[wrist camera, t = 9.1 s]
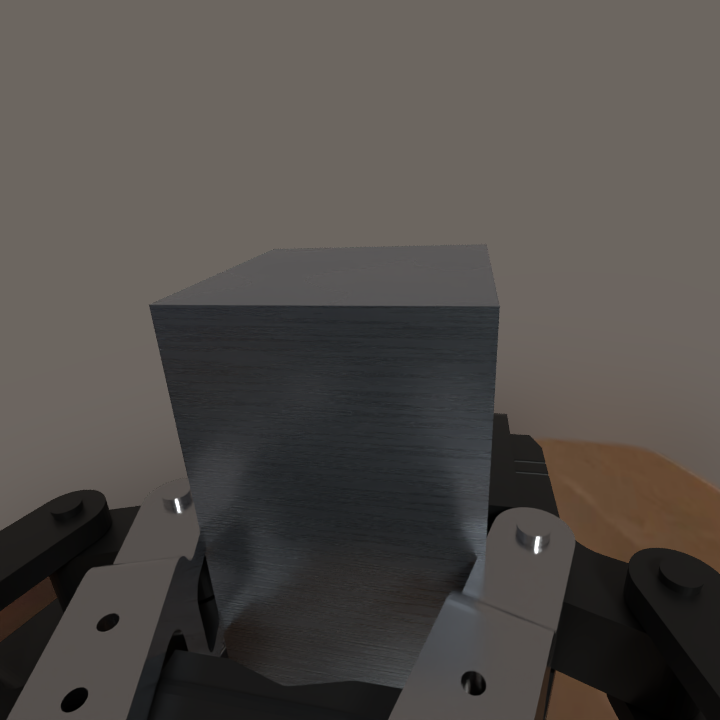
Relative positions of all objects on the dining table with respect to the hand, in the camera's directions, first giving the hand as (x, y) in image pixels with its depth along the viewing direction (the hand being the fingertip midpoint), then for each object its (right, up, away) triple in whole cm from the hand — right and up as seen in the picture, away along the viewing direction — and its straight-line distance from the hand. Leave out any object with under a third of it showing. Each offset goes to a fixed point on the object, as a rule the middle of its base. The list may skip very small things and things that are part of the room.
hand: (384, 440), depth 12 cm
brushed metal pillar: (0, -8, +1) cm, 8 cm away
